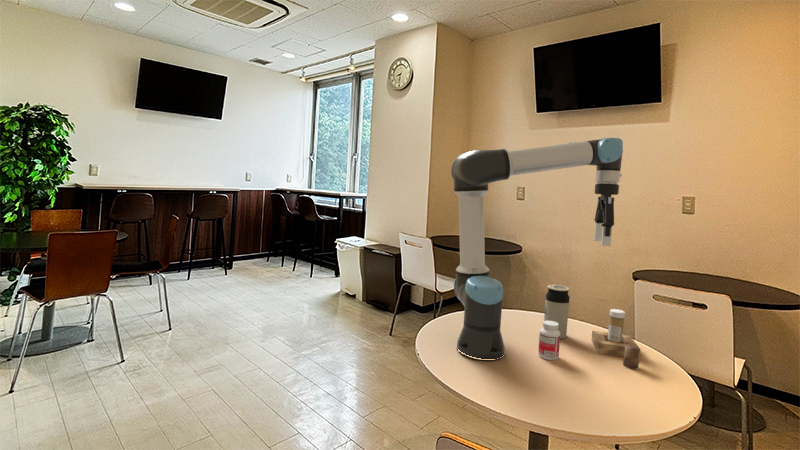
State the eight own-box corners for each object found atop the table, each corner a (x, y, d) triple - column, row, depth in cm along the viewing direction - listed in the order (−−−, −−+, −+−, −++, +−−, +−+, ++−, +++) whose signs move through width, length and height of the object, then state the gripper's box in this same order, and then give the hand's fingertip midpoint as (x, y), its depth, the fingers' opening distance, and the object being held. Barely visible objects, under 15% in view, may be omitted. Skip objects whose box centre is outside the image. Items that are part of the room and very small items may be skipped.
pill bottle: (549, 351, 132) (552, 318, 131) (562, 359, 126) (565, 325, 125) (533, 353, 129) (536, 320, 128) (546, 361, 124) (549, 327, 123)
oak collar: (597, 353, 132) (598, 343, 131) (591, 340, 143) (592, 330, 143) (638, 359, 128) (639, 348, 128) (628, 345, 140) (629, 335, 140)
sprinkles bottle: (624, 350, 135) (628, 311, 134) (616, 352, 133) (620, 313, 131) (610, 345, 139) (614, 307, 138) (603, 347, 137) (607, 309, 135)
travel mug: (568, 334, 148) (572, 286, 146) (563, 341, 141) (568, 291, 140) (545, 329, 152) (549, 283, 150) (540, 335, 146) (544, 287, 144)
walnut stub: (625, 368, 122) (627, 349, 121) (621, 362, 125) (623, 344, 125) (639, 370, 120) (641, 351, 120) (636, 364, 124) (638, 346, 124)
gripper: (628, 183, 127) (622, 249, 129) (611, 184, 151) (605, 239, 153) (602, 182, 129) (596, 247, 132) (589, 183, 153) (584, 238, 155)
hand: (601, 243), depth 142 cm, fingers open, 13 cm apart
